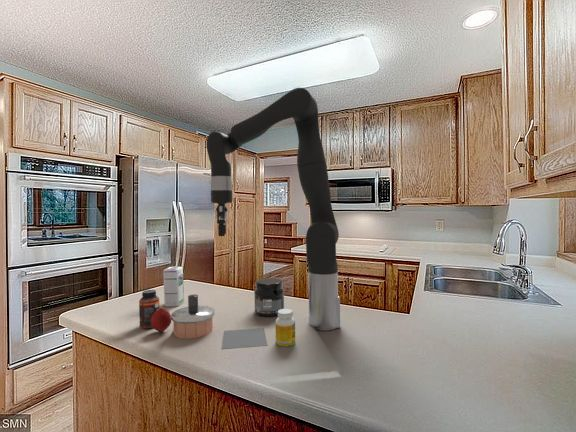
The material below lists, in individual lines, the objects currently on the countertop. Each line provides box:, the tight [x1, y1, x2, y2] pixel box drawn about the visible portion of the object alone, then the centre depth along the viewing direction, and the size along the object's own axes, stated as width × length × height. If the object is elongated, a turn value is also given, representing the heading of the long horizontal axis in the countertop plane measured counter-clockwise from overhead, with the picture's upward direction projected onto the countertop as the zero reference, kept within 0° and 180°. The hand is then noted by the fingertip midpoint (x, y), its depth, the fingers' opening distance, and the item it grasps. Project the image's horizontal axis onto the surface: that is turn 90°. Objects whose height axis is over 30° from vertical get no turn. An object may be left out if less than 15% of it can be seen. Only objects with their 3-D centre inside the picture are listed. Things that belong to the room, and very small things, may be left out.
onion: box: [151, 305, 172, 333], centre depth 93 cm, size 6×6×8 cm
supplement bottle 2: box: [274, 308, 296, 348], centre depth 83 cm, size 5×5×10 cm
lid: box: [170, 293, 216, 323], centre depth 91 cm, size 12×12×6 cm
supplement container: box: [253, 277, 285, 318], centre depth 107 cm, size 10×10×12 cm
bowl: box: [172, 316, 214, 339], centre depth 92 cm, size 11×11×6 cm
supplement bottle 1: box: [138, 289, 160, 330], centre depth 98 cm, size 6×6×11 cm
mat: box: [221, 327, 268, 350], centre depth 86 cm, size 12×12×1 cm
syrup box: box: [162, 266, 185, 307], centre depth 120 cm, size 6×6×14 cm
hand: (222, 235), depth 109 cm, fingers open, 8 cm apart
